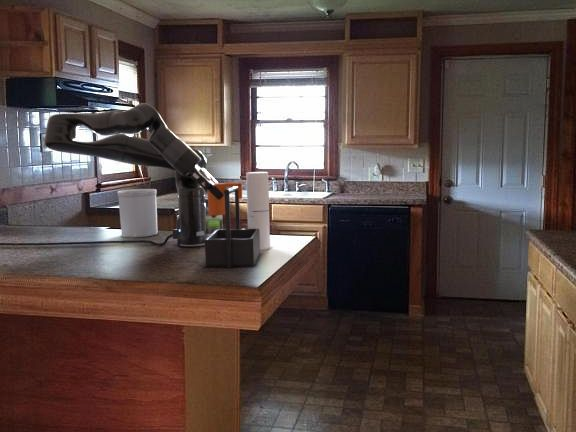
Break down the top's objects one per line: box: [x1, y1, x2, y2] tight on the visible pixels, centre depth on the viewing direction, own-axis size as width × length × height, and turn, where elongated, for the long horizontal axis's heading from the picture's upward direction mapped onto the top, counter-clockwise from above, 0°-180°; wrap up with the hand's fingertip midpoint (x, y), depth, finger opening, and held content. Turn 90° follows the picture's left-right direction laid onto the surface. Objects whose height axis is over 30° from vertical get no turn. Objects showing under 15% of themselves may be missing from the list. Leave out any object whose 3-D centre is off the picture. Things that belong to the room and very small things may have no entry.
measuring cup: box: [207, 182, 243, 216], centre depth 188 cm, size 10×5×9 cm, turn 88°
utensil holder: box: [116, 188, 158, 238], centre depth 249 cm, size 15×15×18 cm
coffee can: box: [205, 196, 224, 237], centre depth 246 cm, size 10×10×14 cm
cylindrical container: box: [245, 171, 271, 251], centre depth 210 cm, size 7×7×25 cm
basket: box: [204, 187, 261, 269], centre depth 189 cm, size 14×24×22 cm, turn 178°
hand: (223, 196), depth 188 cm, fingers closed on measuring cup, 5 cm apart
